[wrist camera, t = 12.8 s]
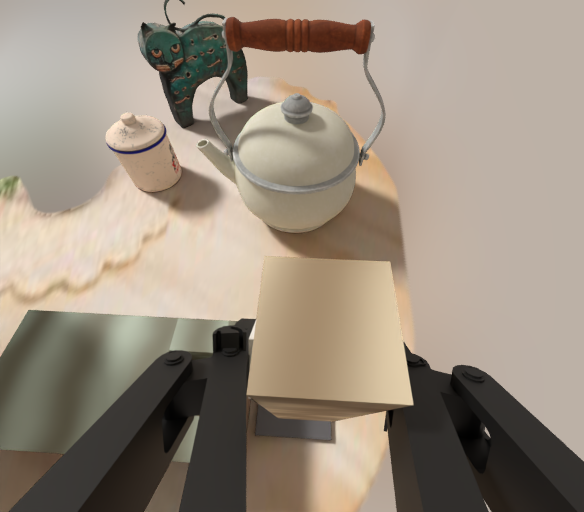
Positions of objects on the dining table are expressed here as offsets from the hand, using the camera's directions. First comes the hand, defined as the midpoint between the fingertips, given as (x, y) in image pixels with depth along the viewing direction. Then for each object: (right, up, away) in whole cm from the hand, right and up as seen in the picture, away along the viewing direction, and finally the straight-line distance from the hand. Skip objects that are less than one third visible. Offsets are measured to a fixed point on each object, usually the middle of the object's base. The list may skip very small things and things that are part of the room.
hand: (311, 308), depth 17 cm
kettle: (-2, +13, +30) cm, 33 cm away
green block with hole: (-18, -12, +15) cm, 26 cm away
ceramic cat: (-20, +36, +45) cm, 61 cm away
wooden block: (0, -7, +4) cm, 8 cm away
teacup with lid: (-27, +19, +34) cm, 47 cm away
